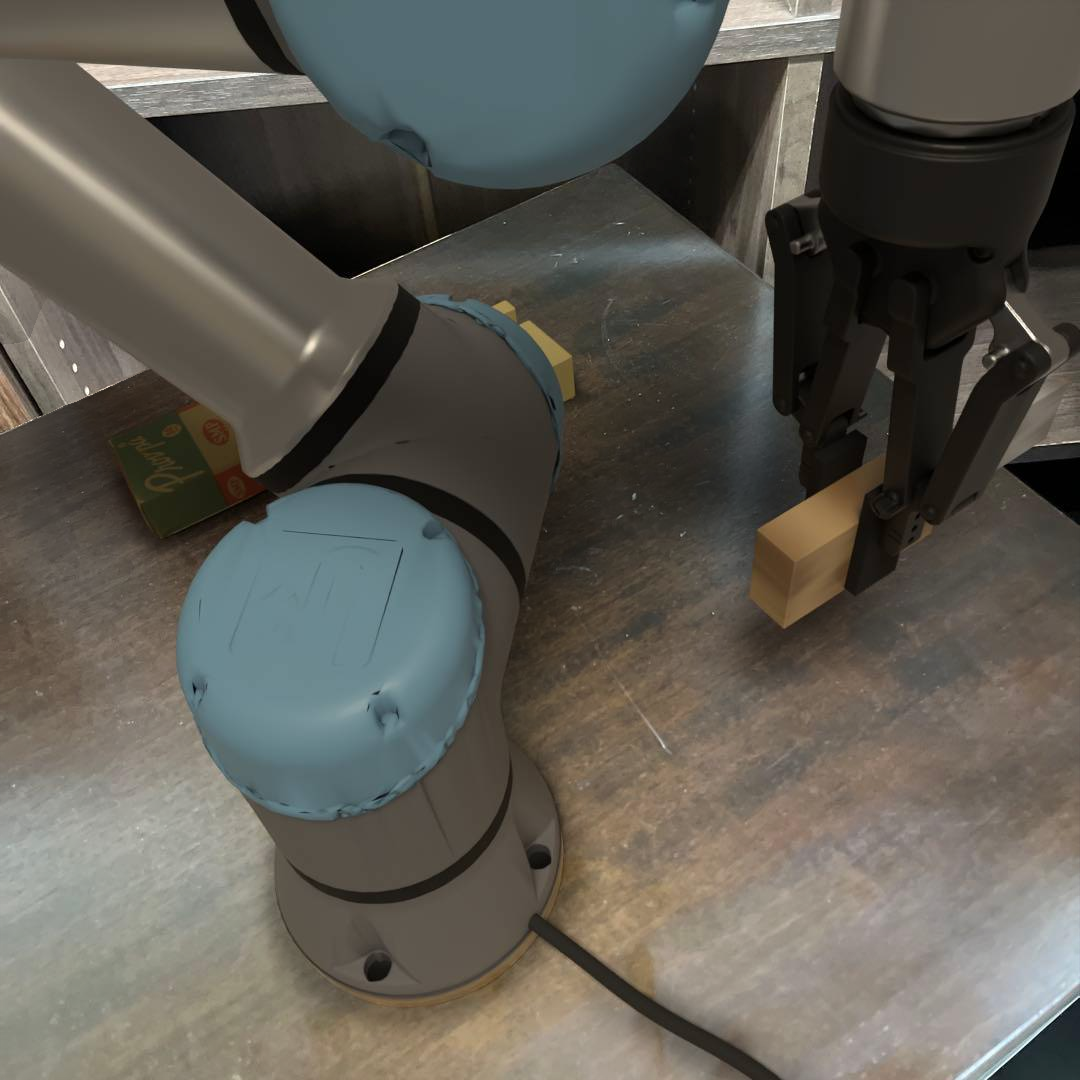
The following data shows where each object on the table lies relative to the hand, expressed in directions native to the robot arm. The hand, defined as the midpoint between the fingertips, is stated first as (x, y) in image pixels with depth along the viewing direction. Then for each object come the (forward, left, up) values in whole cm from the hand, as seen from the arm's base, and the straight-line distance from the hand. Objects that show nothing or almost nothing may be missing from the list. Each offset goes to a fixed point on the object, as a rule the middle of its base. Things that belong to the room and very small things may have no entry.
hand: (845, 558), depth 49 cm
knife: (0, -5, 0) cm, 5 cm away
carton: (+41, +20, -13) cm, 47 cm away
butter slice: (+40, -2, -13) cm, 42 cm away
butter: (+34, -2, -13) cm, 36 cm away
